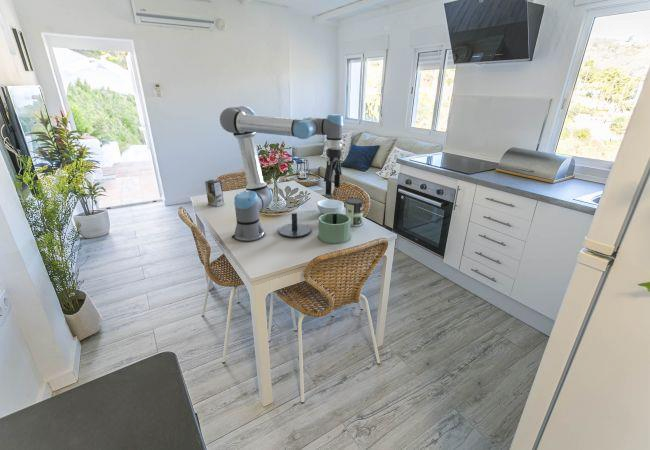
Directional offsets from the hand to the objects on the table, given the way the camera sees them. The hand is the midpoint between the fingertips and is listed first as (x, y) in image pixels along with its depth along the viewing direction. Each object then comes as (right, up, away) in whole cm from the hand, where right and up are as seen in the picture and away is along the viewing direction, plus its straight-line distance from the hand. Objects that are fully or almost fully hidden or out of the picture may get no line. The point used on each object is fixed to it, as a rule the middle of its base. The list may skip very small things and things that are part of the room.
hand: (332, 190), depth 160 cm
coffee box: (-78, -3, +54) cm, 95 cm away
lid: (-21, -20, +14) cm, 33 cm away
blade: (+1, -23, +9) cm, 25 cm away
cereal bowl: (0, -10, +40) cm, 42 cm away
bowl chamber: (+1, -24, +9) cm, 25 cm away
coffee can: (+13, -16, +27) cm, 34 cm away
